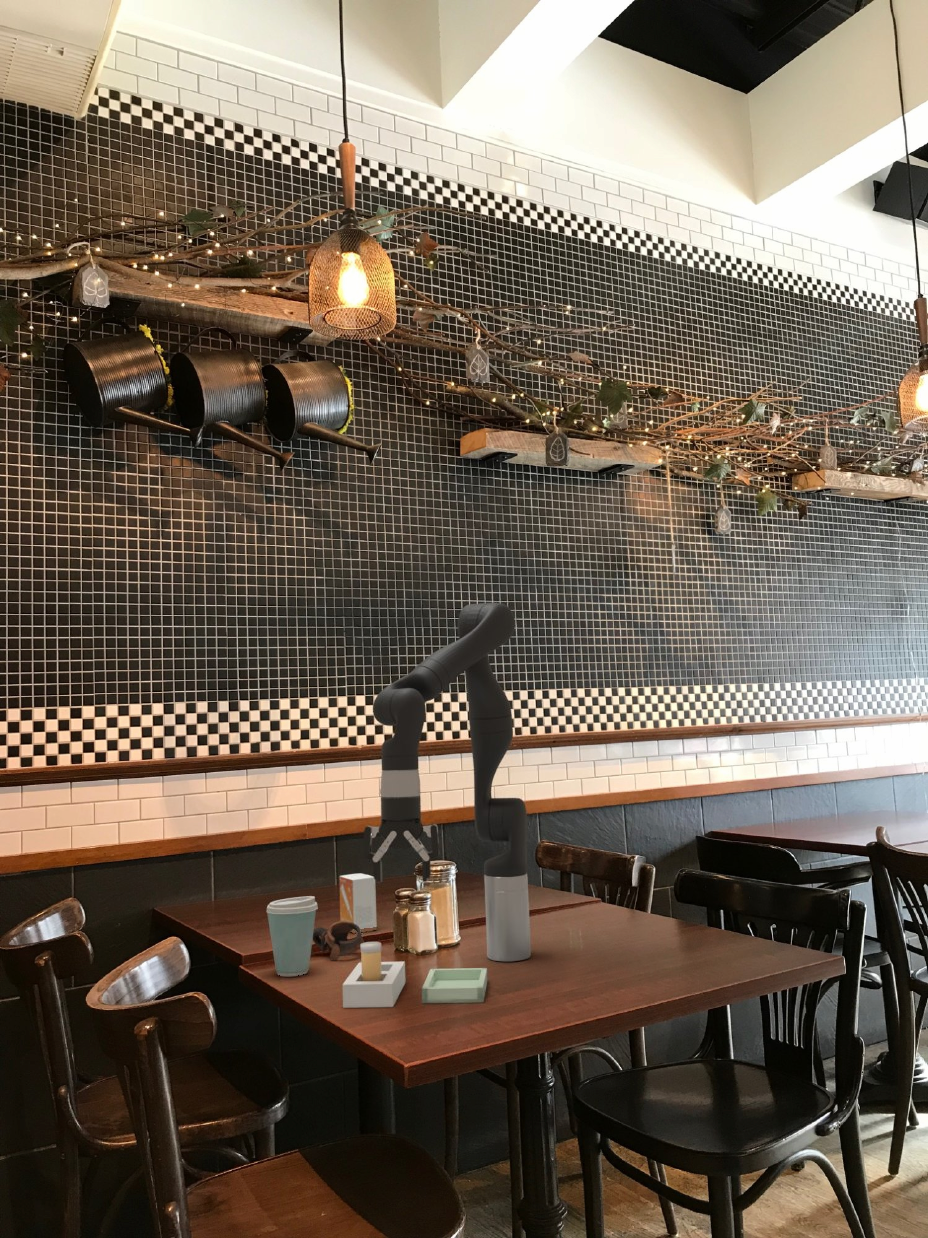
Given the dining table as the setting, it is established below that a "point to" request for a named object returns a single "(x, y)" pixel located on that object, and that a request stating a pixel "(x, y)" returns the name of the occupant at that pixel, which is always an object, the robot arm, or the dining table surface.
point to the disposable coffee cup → (292, 933)
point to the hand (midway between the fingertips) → (402, 881)
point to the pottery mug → (337, 938)
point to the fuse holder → (374, 987)
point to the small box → (358, 900)
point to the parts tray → (455, 985)
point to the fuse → (371, 961)
